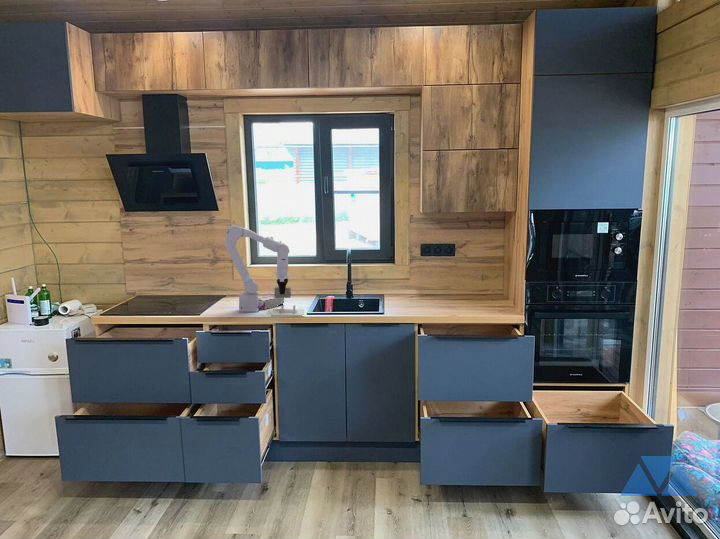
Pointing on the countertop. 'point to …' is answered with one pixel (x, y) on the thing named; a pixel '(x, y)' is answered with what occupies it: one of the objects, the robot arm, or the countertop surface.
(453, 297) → the countertop surface
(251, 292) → the robot arm
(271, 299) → the candy bar box
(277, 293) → the block
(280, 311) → the tray
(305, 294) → the countertop surface
